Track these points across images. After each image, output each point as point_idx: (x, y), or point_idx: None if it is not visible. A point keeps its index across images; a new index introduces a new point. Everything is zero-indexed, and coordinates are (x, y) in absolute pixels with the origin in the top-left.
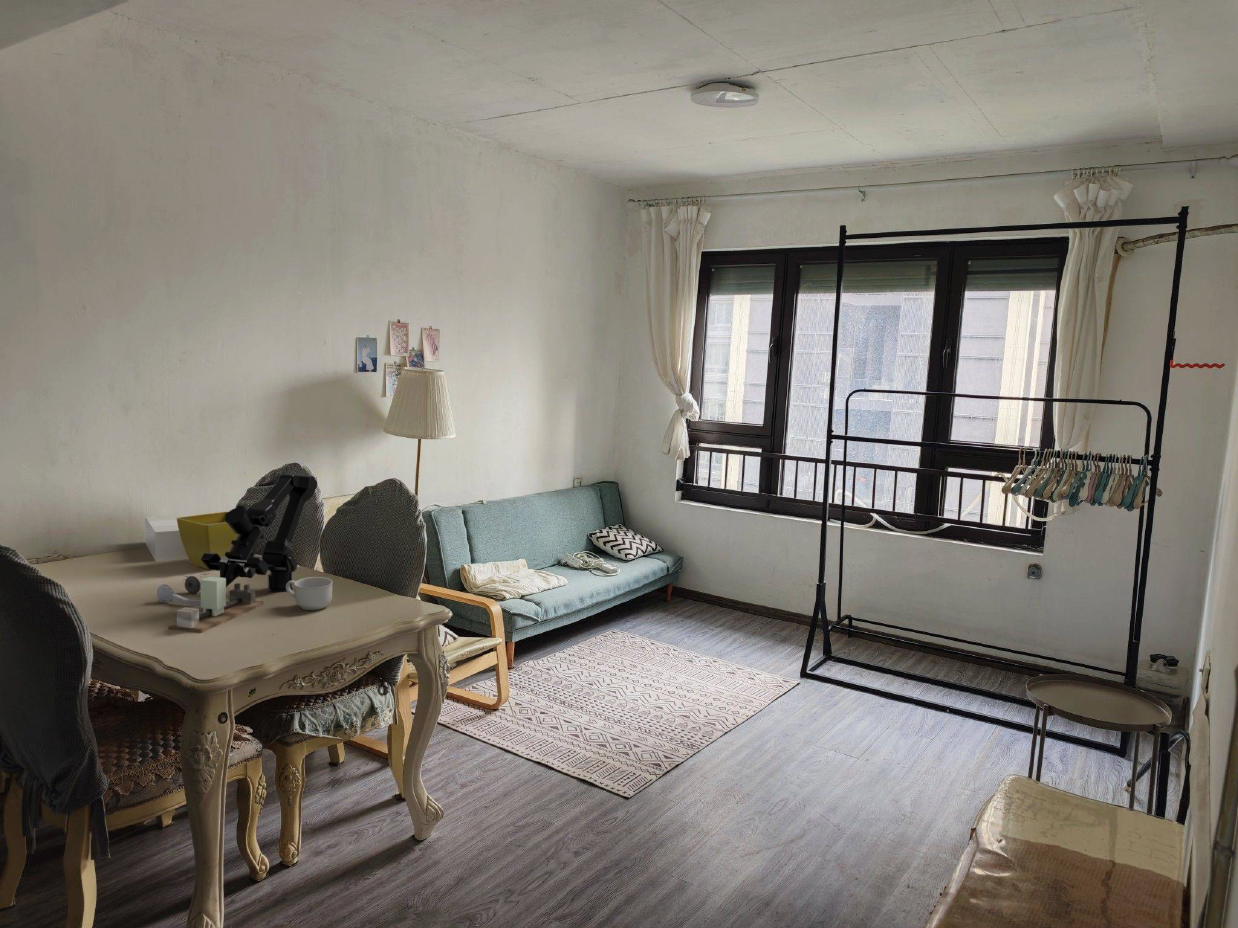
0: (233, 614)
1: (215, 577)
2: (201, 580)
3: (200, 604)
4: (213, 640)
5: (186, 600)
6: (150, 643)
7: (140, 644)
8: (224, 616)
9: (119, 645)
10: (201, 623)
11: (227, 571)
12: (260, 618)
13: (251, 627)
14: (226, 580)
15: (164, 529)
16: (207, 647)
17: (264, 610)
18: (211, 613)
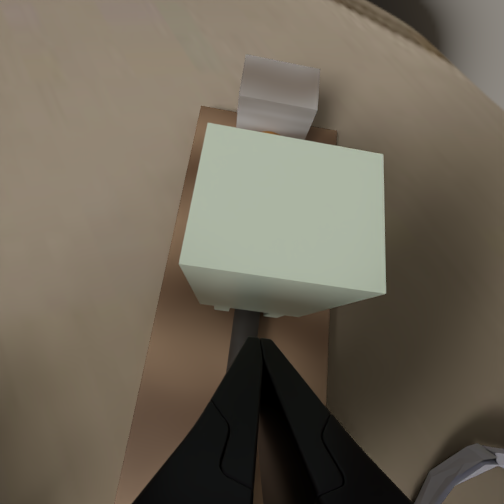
0: (161, 302)
1: (305, 265)
2: (370, 155)
3: (428, 481)
4: (123, 54)
5: (498, 452)
6: (294, 26)
7: (314, 19)
8: None
9: (359, 12)
10: None
11: (240, 453)
12: (29, 321)
13: (32, 190)
14: (225, 374)
15: None
16: (114, 3)
17: (49, 475)
18: None
